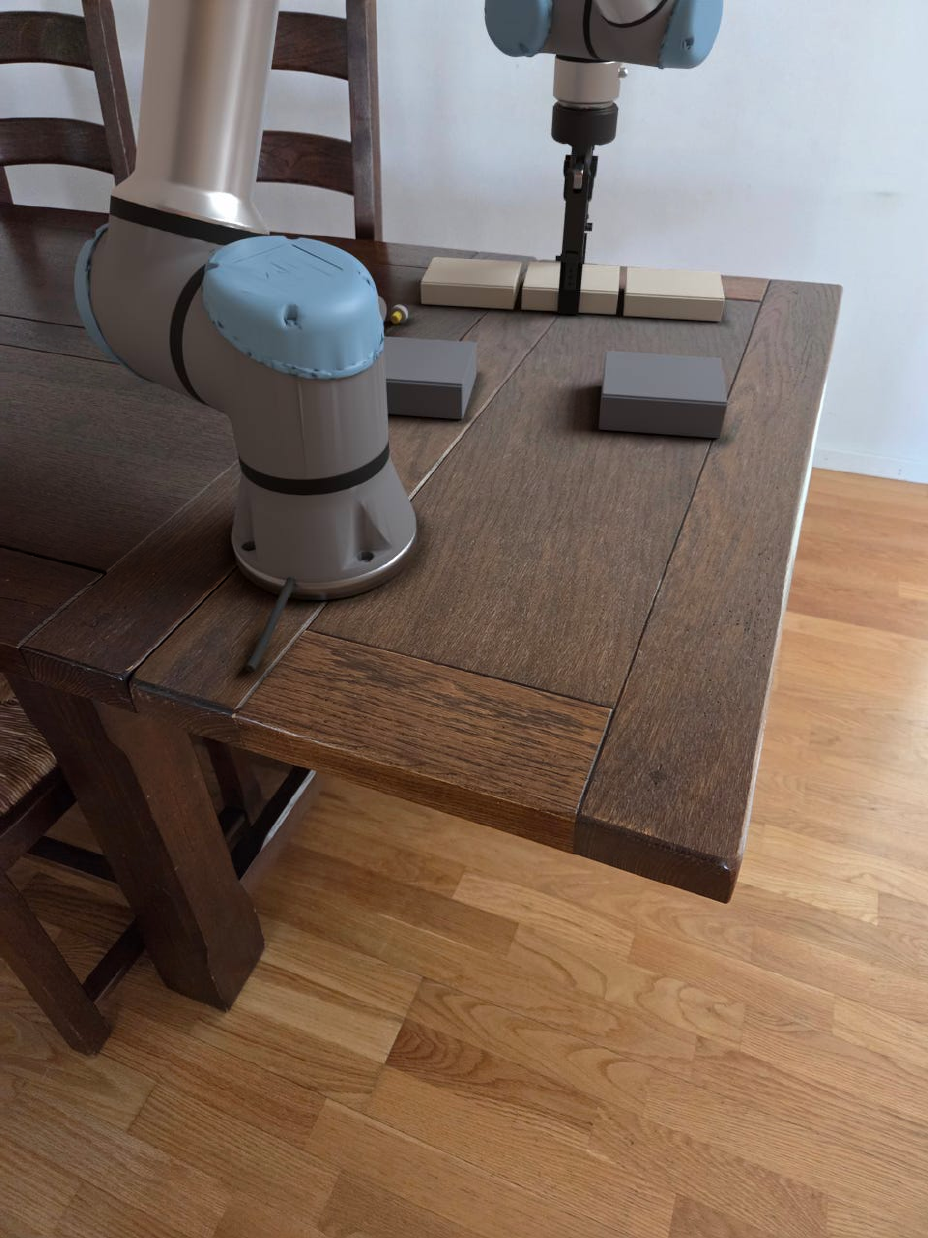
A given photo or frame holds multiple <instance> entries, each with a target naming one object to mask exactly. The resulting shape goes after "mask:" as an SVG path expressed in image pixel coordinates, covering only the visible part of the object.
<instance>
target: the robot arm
mask: <svg viewBox="0 0 928 1238" xmlns="http://www.w3.org/2000/svg"><path fill="white" fill-rule="evenodd" d="M280 5H281V0H148V7H147V19H146V20H147V22H146V32H145V33H146V34H145V44H144V58H143V68H142V69H143V70H142V79H141V80H142V81H141V92H140V105H139V118H138V128H137V129H138V131H137V141H136V142H137V143H136V155H135V167H134V168H135V169H134V170H133V172H132V173H131V174H130V176H128V177H127V178H125V179H124V180H123V181H121V182H120V183H119V184H117V185H116V186H114V187H113V188H112V189H111V192H110V200H109V213H108V214H109V215H108V222H107V223H105V224H102V225H101V226H99V228H97V229H96V230H95V232H94V233H95V234H94V235H93V237H92V238H90V239H88V240H86V241H85V242H84V244H83V246H82V248H81V249H80V252H79V255H78V257H77V261H76V264H75V268H74V278H73V279H74V280H73V287H74V288H73V289H74V298H75V304H76V308H77V311H78V315H79V318H80V320H81V322H82V324H83V326H84V329H85V330H86V332H87V334H88V335H89V337H90V338H91V339H92V341H93V342H94V344H95V345H96V346H97V347H98V349H100V350H101V351H102V352H103V353H104V354H105V355H106V356H107V357H108V358H109V359H111V360H112V361H114V362H115V363H117V364H119V365H120V366H122V367H123V368H124V369H126V370H127V371H129V372H130V373H131V374H132V375H134V376H135V377H137V378H139V379H141V380H145V381H147V382H148V383H149V384H150V383H151V384H154V385H160V386H162V387H164V388H165V389H169V391H170V390H171V391H173V392H175V393H178V394H179V395H182V396H184V397H186V398H188V399H190V400H193V401H195V402H197V403H199V404H201V405H204V406H207V407H208V408H211V409H213V410H215V411H217V412H220V413H222V414H223V415H226V416H227V417H228V419H229V420H230V423H231V424H230V425H231V429H232V434H233V438H234V439H233V440H234V443H235V448H236V452H237V458H238V463H239V467H240V479H239V480H240V482H239V487H238V492H237V500H236V505H235V510H234V516H233V522H232V528H231V529H232V530H231V544H232V549H233V552H234V557H235V561H236V564H237V567H238V568H239V571H241V574H242V575H243V576H244V577H245V578H246V579H247V580H249V581H250V582H251V583H252V584H253V585H255V586H257V587H258V588H260V589H262V590H264V591H266V592H269V593H271V594H273V595H277V596H278V597H277V599H276V601H275V603H274V606H273V608H272V610H271V612H270V614H269V616H268V619H267V621H266V623H265V626H264V628H263V630H262V632H261V634H260V636H259V639H258V641H257V643H256V645H255V647H254V649H253V652H252V654H251V656H250V658H249V660H248V662H247V663H246V665H245V666H244V669H245V670H246V671H247V672H248V673H254V672H255V670H256V668H257V667H258V666H259V664H260V661H261V660H262V658H263V656H264V654H265V652H266V649H267V647H268V645H269V643H270V640H271V638H272V636H273V634H274V631H275V629H276V626H277V624H278V622H279V620H280V617H281V615H282V613H283V611H284V609H285V606H286V604H287V602H288V600H289V598H290V599H296V600H304V601H305V600H306V601H323V600H324V601H325V600H334V599H343V598H347V597H352V596H356V595H359V594H361V593H362V594H363V593H365V592H368V591H370V590H373V589H375V588H377V587H379V586H382V585H383V584H385V583H387V582H388V581H390V580H391V579H393V578H394V577H396V576H397V575H398V574H399V573H401V572H402V571H403V570H404V569H405V568H406V567H407V565H409V563H410V562H411V560H412V558H413V556H414V554H415V553H416V550H417V546H418V531H417V530H418V529H417V528H418V525H417V515H416V513H415V510H414V508H413V505H412V502H411V501H410V499H409V496H408V494H407V491H406V490H405V487H404V486H403V483H402V481H401V479H400V477H399V474H398V471H397V470H396V467H395V465H394V463H393V461H392V459H391V450H390V439H389V435H390V434H389V414H388V413H387V393H386V372H385V352H384V338H385V337H386V336H385V332H384V331H385V330H384V329H385V324H384V322H383V321H382V317H381V315H380V311H379V303H378V296H379V294H378V291H377V287H376V283H375V281H374V279H373V277H372V275H371V273H370V271H369V270H368V269H367V268H366V266H365V265H364V264H363V263H362V262H361V261H359V260H358V259H357V258H356V257H354V256H353V255H352V254H350V253H348V252H347V251H346V250H343V249H341V248H340V247H337V246H334V245H333V244H330V243H328V242H325V241H321V240H317V239H312V238H307V237H298V238H295V239H290V238H288V237H286V236H285V235H270V234H271V229H270V228H269V226H268V225H267V223H266V221H265V220H264V218H263V216H262V215H261V214H260V212H259V210H258V209H257V206H256V204H255V193H256V187H257V186H256V185H257V179H258V172H259V171H258V169H259V164H260V155H261V149H262V140H263V134H264V124H265V117H266V109H267V104H268V103H267V102H268V97H269V87H270V79H271V73H272V64H273V57H274V49H275V42H276V34H277V28H278V27H277V26H278V19H279V12H280ZM483 9H484V23H485V27H486V31H487V34H488V36H489V38H490V40H491V43H492V44H493V45H494V47H496V48H497V50H499V51H500V52H501V54H504V55H506V56H508V57H511V58H520V57H521V58H522V57H525V58H533V57H535V56H537V55H539V54H548V55H554V66H553V84H552V97H554V99H555V100H556V102H555V103H554V104H553V105H552V108H551V109H552V112H551V127H550V128H551V129H550V136H551V138H552V140H553V141H554V142H556V143H558V144H560V145H568V146H570V147H571V151H570V154H565V156H564V160H563V168H562V169H563V170H562V174H563V177H564V179H563V180H564V181H563V191H562V192H563V193H562V198H563V201H564V202H565V205H564V216H563V217H564V218H563V230H562V241H561V252H560V254H559V255H557V254H556V255H555V259H554V261H555V262H554V263H560V277H559V292H558V306H557V311H556V314H563V315H564V314H565V315H566V314H567V315H579V302H580V291H581V279H582V268H583V264H586V263H585V262H586V252H587V251H586V250H587V239H588V233H587V232H593V226H594V223H593V222H588V220H589V219H590V214H589V207H590V202H591V201H592V200H593V193H594V187H595V179H596V177H597V173H598V166H599V165H598V164H599V155H594V151H595V150H596V149H595V148H596V147H595V146H599V147H601V146H605V145H609V144H610V143H612V142H613V141H614V140H615V138H616V136H617V129H618V128H617V127H618V116H619V106H618V104H617V103H616V102H615V101H617V100H618V99H619V98H620V93H621V92H620V91H621V79H625V78H627V77H628V73H629V72H628V68H626V67H622V65H623V64H630V65H638V66H646V67H653V68H658V70H661V71H662V70H664V69H675V70H676V69H677V70H678V69H679V70H691V69H695V68H697V67H699V66H700V65H701V64H702V63H703V62H704V61H705V60H706V59H707V58H708V56H709V55H710V53H711V51H712V49H713V47H714V44H715V42H716V40H717V37H718V34H719V32H720V28H721V24H722V19H723V13H724V0H484V8H483ZM384 336H385V337H384Z"/></svg>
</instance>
